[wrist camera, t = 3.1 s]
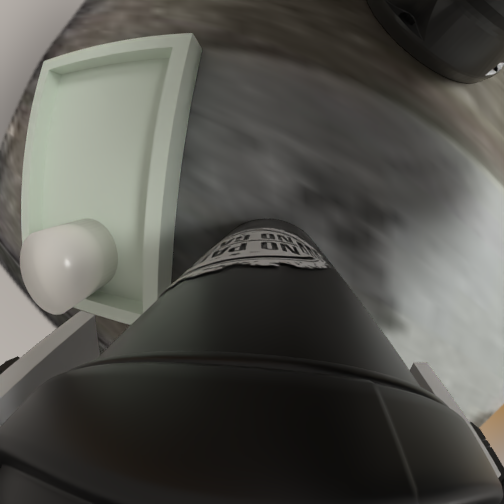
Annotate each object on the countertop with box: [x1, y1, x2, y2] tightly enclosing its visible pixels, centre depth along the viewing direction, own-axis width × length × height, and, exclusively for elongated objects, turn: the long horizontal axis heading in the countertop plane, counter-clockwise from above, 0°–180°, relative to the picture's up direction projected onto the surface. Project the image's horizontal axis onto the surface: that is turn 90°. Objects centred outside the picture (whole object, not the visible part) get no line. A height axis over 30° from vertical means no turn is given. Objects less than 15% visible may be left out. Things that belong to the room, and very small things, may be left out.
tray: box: [21, 33, 202, 325], centre depth 19 cm, size 22×15×3 cm
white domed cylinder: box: [20, 218, 118, 315], centre depth 18 cm, size 6×6×6 cm
